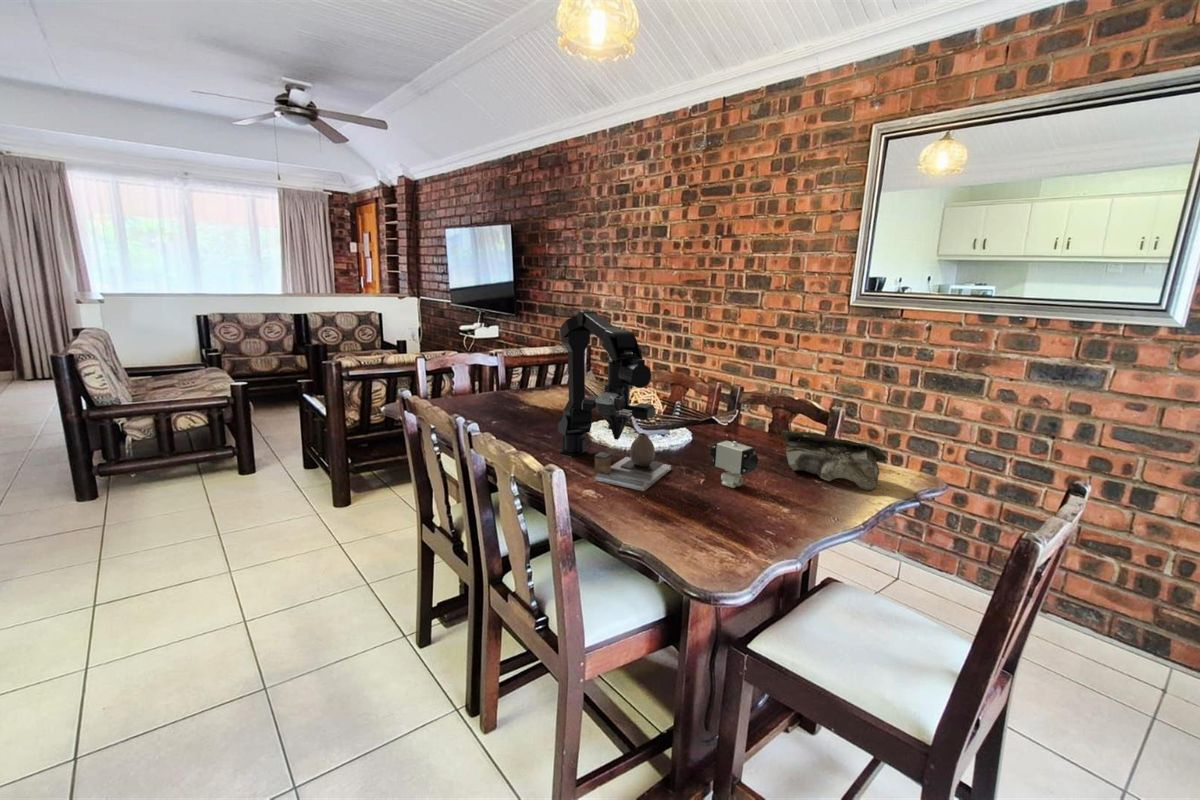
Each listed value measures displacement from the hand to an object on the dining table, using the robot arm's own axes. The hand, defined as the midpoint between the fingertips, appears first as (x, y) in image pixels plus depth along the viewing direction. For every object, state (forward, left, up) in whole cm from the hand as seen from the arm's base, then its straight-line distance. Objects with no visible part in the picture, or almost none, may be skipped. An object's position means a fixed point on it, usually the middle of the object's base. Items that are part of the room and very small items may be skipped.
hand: (616, 439), depth 141 cm
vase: (+3, +10, -10) cm, 15 cm away
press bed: (+3, +5, -11) cm, 13 cm away
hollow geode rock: (+49, +33, -11) cm, 61 cm away
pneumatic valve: (+28, +12, -11) cm, 33 cm away
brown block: (-3, -1, -10) cm, 10 cm away
